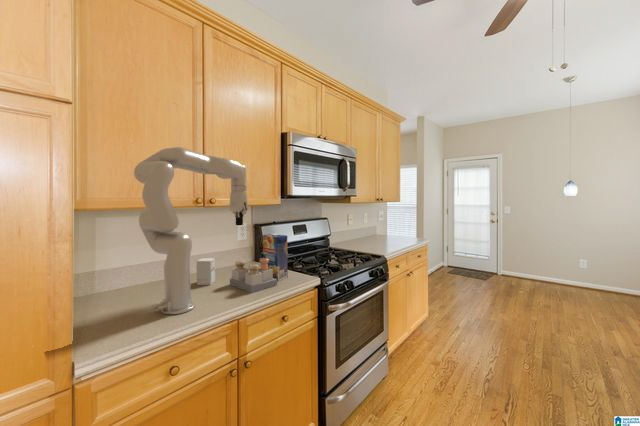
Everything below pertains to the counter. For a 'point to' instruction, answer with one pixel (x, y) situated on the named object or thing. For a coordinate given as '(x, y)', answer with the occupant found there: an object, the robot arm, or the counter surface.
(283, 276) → the juice carton
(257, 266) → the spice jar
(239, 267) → the beech plug far
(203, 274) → the supplement box
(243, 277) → the board
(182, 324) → the counter surface
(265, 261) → the terracotta plug
